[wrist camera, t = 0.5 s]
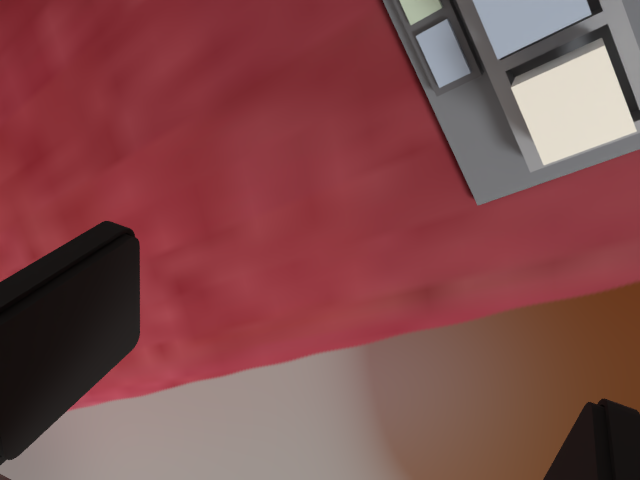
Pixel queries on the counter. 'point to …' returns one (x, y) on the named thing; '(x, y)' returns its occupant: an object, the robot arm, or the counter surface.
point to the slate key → (526, 20)
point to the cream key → (573, 103)
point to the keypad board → (508, 87)
